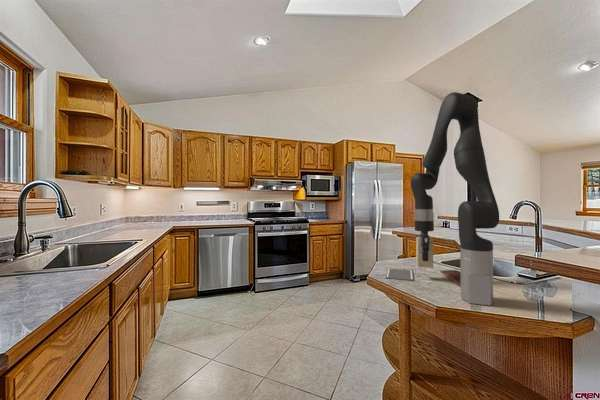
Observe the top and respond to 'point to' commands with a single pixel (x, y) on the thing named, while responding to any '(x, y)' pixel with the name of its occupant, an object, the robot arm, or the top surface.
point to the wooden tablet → (453, 276)
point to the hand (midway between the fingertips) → (424, 259)
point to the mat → (400, 274)
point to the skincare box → (419, 254)
